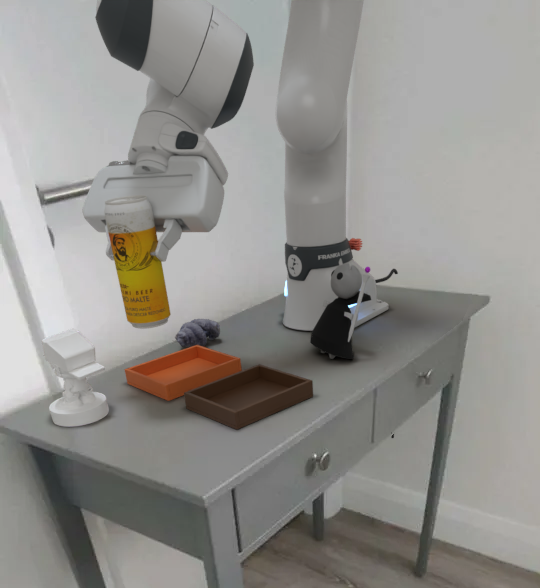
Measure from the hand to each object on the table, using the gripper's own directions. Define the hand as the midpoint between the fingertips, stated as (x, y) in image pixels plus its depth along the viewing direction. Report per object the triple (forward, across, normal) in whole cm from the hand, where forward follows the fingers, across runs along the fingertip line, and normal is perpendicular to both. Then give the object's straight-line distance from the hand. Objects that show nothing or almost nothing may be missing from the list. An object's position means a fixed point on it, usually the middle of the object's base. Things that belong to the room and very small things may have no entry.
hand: (134, 258), depth 85 cm
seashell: (-5, -12, +35) cm, 37 cm away
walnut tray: (+10, +11, +20) cm, 25 cm away
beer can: (+6, 0, +6) cm, 9 cm away
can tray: (+6, -5, +24) cm, 25 cm away
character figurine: (+19, -12, +11) cm, 25 cm away
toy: (-7, +15, +37) cm, 41 cm away
